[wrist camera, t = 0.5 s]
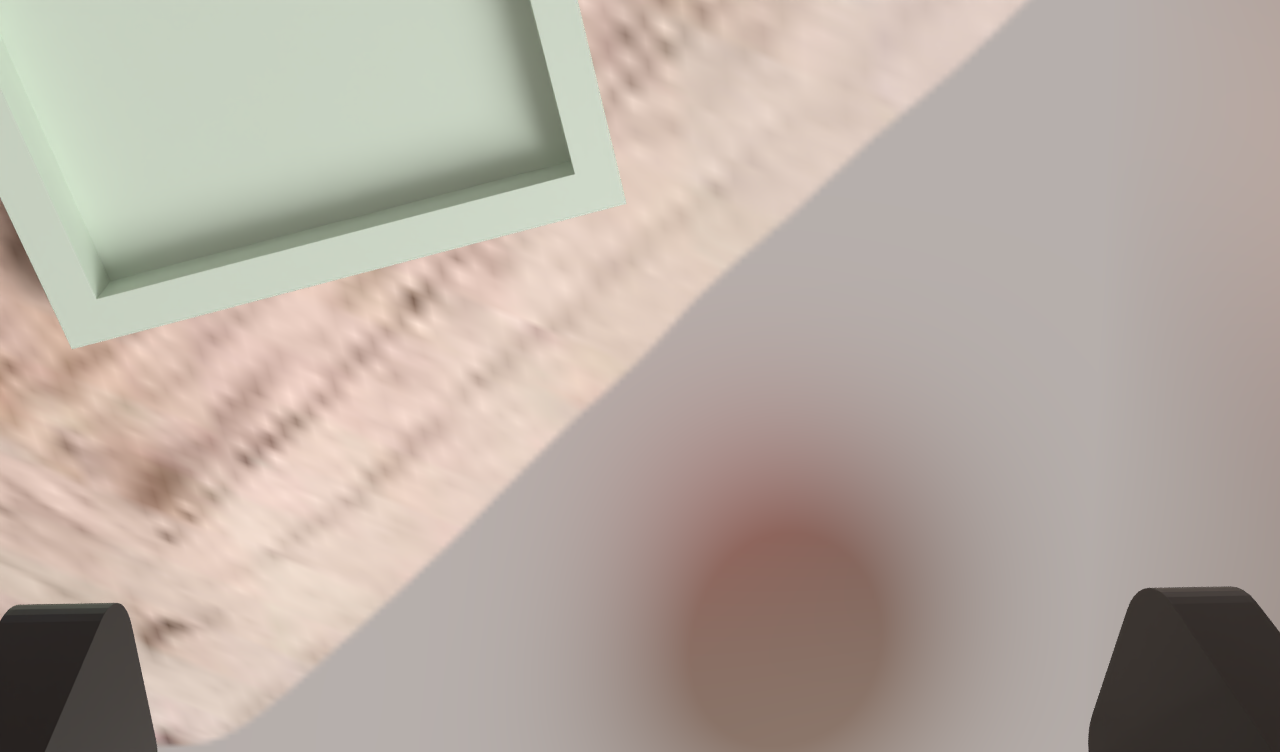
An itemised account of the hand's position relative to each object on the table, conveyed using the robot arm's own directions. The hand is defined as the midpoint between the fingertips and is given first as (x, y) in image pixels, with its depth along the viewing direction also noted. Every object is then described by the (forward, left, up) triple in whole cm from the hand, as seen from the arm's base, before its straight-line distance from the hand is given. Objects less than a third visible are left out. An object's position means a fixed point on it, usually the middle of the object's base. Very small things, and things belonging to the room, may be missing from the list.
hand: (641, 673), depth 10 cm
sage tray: (-4, -6, -28) cm, 29 cm away
